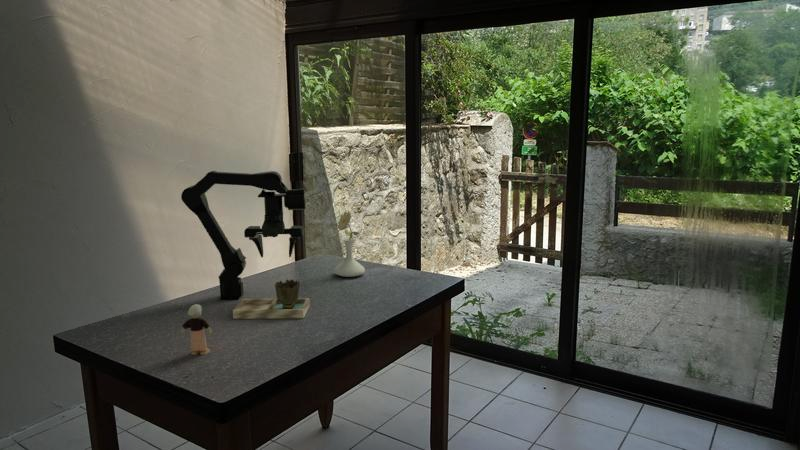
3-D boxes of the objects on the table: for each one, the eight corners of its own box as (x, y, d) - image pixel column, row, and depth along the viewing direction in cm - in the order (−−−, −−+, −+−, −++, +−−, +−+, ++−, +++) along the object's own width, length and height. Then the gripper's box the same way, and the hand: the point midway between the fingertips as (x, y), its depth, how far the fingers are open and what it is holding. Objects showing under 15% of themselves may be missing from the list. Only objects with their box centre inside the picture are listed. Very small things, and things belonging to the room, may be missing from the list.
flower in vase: (334, 271, 216) (332, 207, 212) (364, 270, 218) (363, 206, 213) (334, 281, 204) (332, 213, 199) (366, 279, 205) (364, 212, 200)
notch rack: (233, 318, 166) (232, 310, 165) (243, 306, 177) (243, 298, 176) (303, 318, 166) (303, 310, 165) (309, 305, 177) (309, 298, 176)
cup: (279, 313, 166) (278, 287, 165) (273, 306, 173) (271, 281, 171) (304, 309, 170) (303, 284, 168) (296, 302, 176) (295, 278, 175)
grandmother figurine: (215, 348, 144) (212, 301, 142) (212, 354, 141) (209, 306, 138) (184, 350, 143) (180, 303, 141) (180, 356, 140) (176, 308, 137)
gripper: (238, 214, 175) (241, 263, 178) (298, 214, 175) (300, 263, 178) (247, 209, 186) (250, 255, 189) (304, 208, 186) (306, 254, 189)
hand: (276, 257), depth 186 cm, fingers open, 9 cm apart
